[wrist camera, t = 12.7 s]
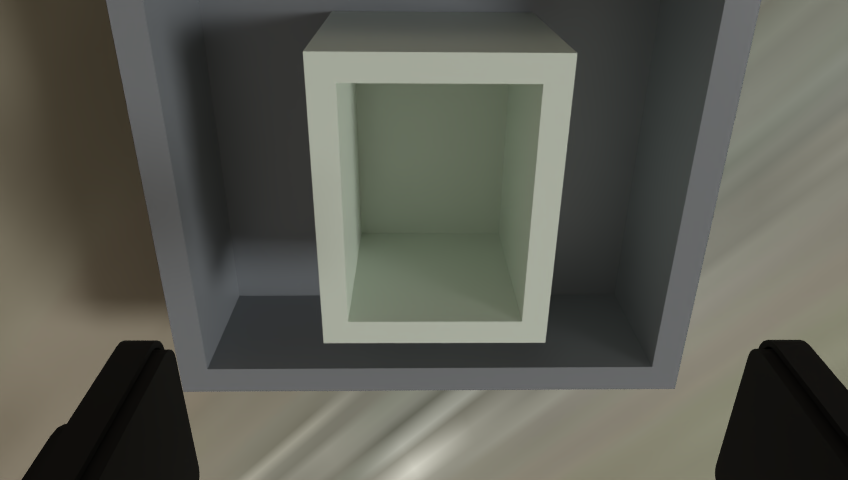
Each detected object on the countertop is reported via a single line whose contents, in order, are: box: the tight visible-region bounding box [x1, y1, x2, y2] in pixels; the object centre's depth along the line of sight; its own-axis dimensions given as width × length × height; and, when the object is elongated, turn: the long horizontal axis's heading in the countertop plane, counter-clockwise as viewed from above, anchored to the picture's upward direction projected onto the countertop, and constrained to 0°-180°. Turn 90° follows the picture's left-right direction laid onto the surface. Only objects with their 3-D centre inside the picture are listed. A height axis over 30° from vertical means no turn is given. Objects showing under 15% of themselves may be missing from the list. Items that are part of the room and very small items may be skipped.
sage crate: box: [303, 11, 577, 343], centre depth 22 cm, size 9×7×7 cm
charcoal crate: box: [106, 0, 761, 392], centre depth 23 cm, size 16×18×6 cm
